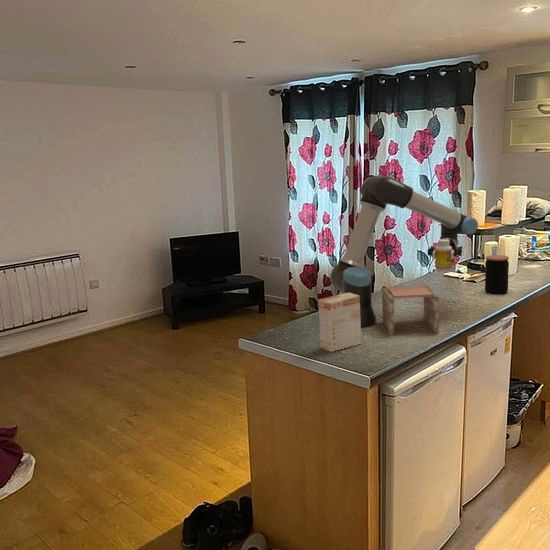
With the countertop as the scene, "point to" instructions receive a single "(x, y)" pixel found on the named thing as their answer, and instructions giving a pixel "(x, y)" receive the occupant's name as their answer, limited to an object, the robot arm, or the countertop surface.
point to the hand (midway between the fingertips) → (442, 255)
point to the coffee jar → (496, 274)
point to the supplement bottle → (443, 255)
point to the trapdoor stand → (429, 311)
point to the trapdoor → (409, 292)
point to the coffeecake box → (340, 321)
